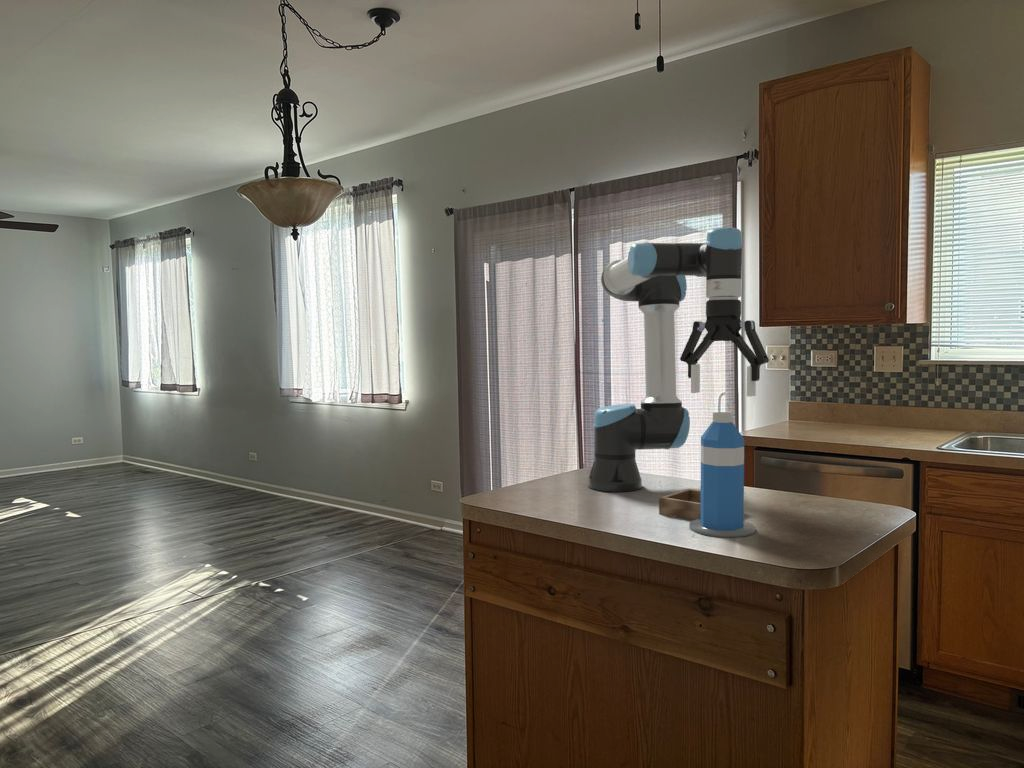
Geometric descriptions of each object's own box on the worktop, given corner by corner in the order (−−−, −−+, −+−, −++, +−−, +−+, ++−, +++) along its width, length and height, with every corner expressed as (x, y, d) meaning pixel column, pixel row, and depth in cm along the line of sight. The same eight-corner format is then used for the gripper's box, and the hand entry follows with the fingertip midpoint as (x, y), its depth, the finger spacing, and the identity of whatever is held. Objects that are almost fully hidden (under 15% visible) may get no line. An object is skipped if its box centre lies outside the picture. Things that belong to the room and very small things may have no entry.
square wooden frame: (659, 513, 176) (659, 497, 176) (688, 504, 187) (688, 488, 186) (711, 523, 167) (711, 506, 167) (739, 512, 177) (739, 496, 177)
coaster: (677, 529, 162) (677, 526, 162) (708, 518, 172) (708, 514, 172) (736, 541, 152) (736, 537, 152) (766, 528, 162) (766, 524, 162)
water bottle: (695, 527, 160) (696, 414, 158) (705, 518, 168) (705, 410, 167) (739, 532, 156) (740, 415, 154) (747, 522, 164) (748, 411, 162)
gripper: (665, 300, 168) (665, 392, 170) (770, 296, 151) (768, 398, 153) (682, 301, 174) (682, 390, 175) (785, 297, 157) (783, 396, 158)
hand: (722, 394), depth 164 cm, fingers open, 13 cm apart
